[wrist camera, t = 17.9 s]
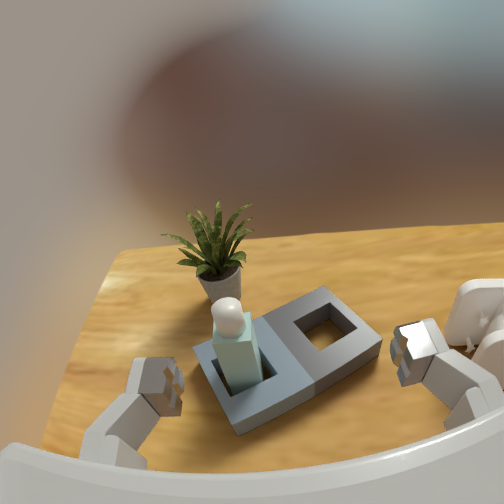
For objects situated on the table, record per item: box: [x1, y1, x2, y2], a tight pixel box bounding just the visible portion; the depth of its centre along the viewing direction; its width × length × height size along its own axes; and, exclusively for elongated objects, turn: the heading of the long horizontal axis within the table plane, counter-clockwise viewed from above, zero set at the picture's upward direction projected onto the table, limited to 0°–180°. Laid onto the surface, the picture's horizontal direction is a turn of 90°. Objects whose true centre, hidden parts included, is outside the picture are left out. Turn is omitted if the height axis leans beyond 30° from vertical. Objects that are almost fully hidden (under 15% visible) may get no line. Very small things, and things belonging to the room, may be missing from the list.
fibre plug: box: [211, 297, 264, 396], centre depth 34 cm, size 4×4×14 cm
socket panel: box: [192, 285, 383, 436], centre depth 39 cm, size 21×13×4 cm, turn 116°
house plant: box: [162, 200, 254, 304], centre depth 48 cm, size 14×14×16 cm
